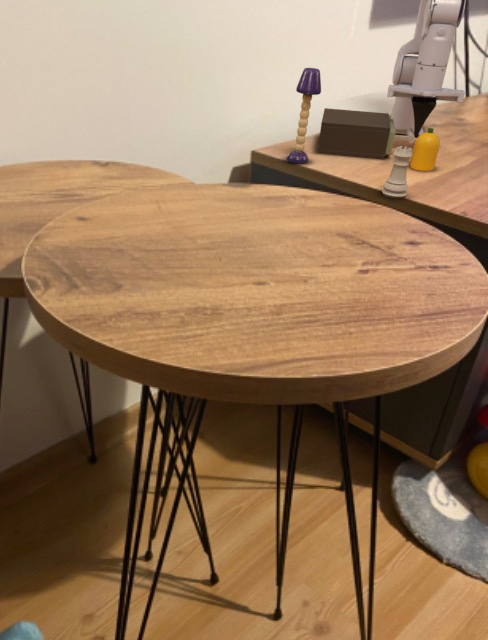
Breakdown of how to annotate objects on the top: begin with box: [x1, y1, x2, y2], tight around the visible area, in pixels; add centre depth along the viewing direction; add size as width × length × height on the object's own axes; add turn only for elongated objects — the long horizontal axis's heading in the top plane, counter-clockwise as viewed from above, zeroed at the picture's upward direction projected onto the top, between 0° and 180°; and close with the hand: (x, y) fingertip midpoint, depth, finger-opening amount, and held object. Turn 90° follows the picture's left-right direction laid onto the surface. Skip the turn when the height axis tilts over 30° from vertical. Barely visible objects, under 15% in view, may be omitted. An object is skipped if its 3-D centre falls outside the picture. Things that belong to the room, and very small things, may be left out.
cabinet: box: [316, 107, 391, 160], centre depth 138 cm, size 14×13×6 cm
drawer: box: [385, 118, 416, 156], centre depth 137 cm, size 17×11×4 cm
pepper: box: [409, 127, 441, 172], centre depth 128 cm, size 5×5×7 cm
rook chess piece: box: [381, 145, 413, 199], centre depth 114 cm, size 4×4×8 cm
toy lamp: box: [286, 67, 322, 165], centre depth 126 cm, size 5×5×17 cm
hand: (415, 136), depth 135 cm, fingers closed
